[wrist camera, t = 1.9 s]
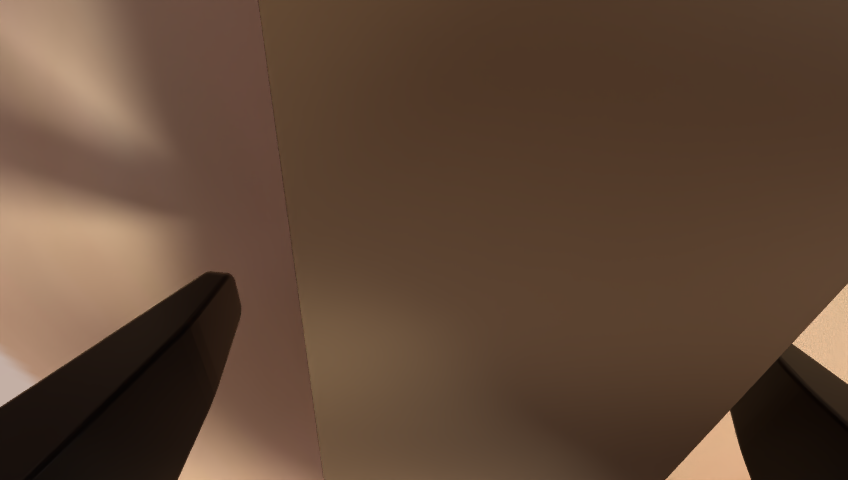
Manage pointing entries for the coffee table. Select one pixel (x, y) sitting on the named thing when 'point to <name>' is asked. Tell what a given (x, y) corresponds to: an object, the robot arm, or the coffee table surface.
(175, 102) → the coffee table surface
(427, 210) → the walnut lintel
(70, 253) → the coffee table surface
